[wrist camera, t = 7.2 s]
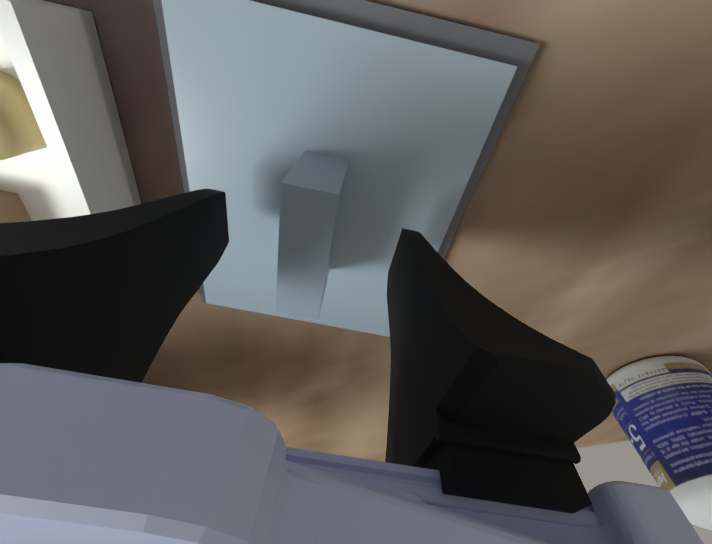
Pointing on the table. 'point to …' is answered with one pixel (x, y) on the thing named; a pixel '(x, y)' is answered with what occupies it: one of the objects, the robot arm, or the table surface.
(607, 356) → the table surface
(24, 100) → the storage box
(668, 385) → the pill bottle
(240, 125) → the lid
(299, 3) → the mat
